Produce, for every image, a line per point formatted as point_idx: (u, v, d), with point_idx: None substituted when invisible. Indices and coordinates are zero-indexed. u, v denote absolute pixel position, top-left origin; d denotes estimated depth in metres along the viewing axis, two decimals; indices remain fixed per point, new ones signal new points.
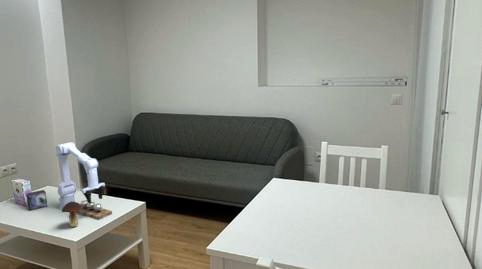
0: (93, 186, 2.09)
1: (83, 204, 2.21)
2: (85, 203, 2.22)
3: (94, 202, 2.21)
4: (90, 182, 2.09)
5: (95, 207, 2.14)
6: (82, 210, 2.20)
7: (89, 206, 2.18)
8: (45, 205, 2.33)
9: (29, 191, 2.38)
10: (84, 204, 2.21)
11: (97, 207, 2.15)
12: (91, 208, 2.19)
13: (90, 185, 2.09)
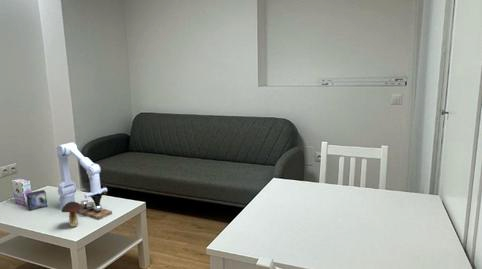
0: (96, 191, 2.12)
1: (83, 204, 2.21)
2: (85, 203, 2.22)
3: None
4: (93, 187, 2.12)
5: (95, 208, 2.15)
6: (82, 210, 2.20)
7: (89, 206, 2.18)
8: (45, 205, 2.33)
9: (29, 191, 2.38)
10: (84, 204, 2.21)
11: (97, 208, 2.15)
12: (91, 208, 2.19)
13: (93, 190, 2.12)
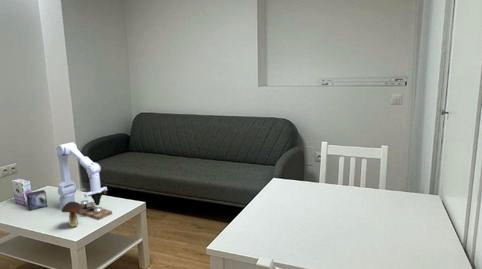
0: (95, 190, 2.12)
1: (83, 204, 2.21)
2: (85, 203, 2.22)
3: (94, 202, 2.21)
4: (92, 186, 2.11)
5: (95, 211, 2.15)
6: (82, 210, 2.20)
7: (89, 206, 2.18)
8: (45, 205, 2.33)
9: (29, 191, 2.38)
10: (84, 204, 2.21)
11: (98, 211, 2.15)
12: (91, 208, 2.19)
13: (92, 189, 2.12)
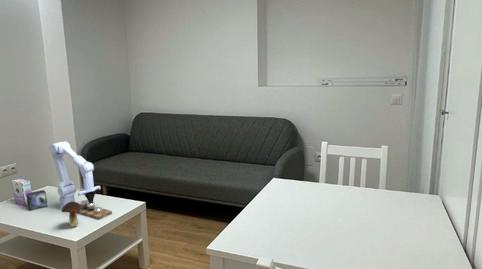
0: (89, 189, 2.15)
1: (83, 204, 2.21)
2: (85, 203, 2.22)
3: (94, 202, 2.21)
4: (86, 185, 2.15)
5: (95, 211, 2.15)
6: (82, 210, 2.20)
7: (89, 206, 2.18)
8: (45, 205, 2.33)
9: (29, 191, 2.38)
10: (84, 204, 2.21)
11: (98, 211, 2.15)
12: (91, 208, 2.20)
13: (86, 188, 2.15)
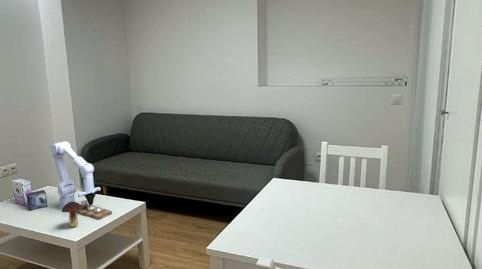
0: (89, 190, 2.16)
1: (83, 204, 2.21)
2: (85, 203, 2.22)
3: (94, 206, 2.21)
4: (86, 186, 2.15)
5: (95, 211, 2.15)
6: (82, 210, 2.20)
7: (89, 209, 2.18)
8: (45, 205, 2.33)
9: (29, 191, 2.38)
10: (84, 204, 2.21)
11: (98, 211, 2.15)
12: None
13: (86, 189, 2.15)
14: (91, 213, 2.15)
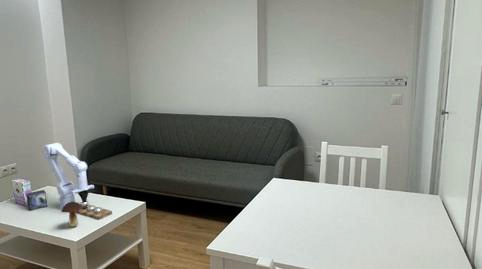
0: (82, 188, 2.19)
1: (83, 205, 2.21)
2: (85, 204, 2.22)
3: (94, 206, 2.21)
4: (79, 184, 2.18)
5: (95, 211, 2.15)
6: (82, 210, 2.20)
7: (89, 209, 2.18)
8: (45, 205, 2.33)
9: (29, 191, 2.38)
10: (84, 205, 2.21)
11: (98, 211, 2.15)
12: None
13: (79, 187, 2.19)
14: (91, 213, 2.15)
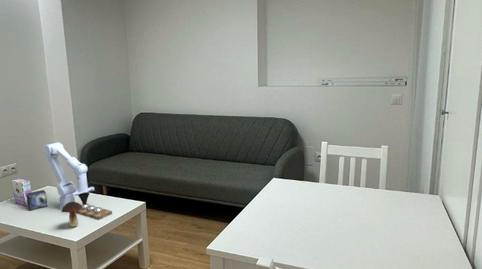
0: (82, 190, 2.19)
1: (83, 208, 2.22)
2: (85, 207, 2.22)
3: (94, 206, 2.21)
4: (80, 186, 2.19)
5: (95, 211, 2.15)
6: (82, 210, 2.20)
7: (89, 209, 2.18)
8: (45, 205, 2.33)
9: (29, 191, 2.38)
10: (84, 208, 2.22)
11: (98, 211, 2.15)
12: None
13: (80, 189, 2.19)
14: (91, 213, 2.15)
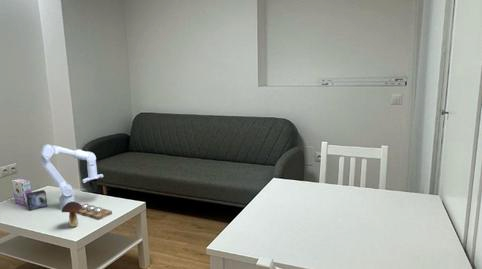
0: (92, 177, 2.31)
1: (83, 208, 2.22)
2: (85, 207, 2.22)
3: (94, 206, 2.21)
4: (90, 173, 2.31)
5: (95, 211, 2.15)
6: (82, 210, 2.20)
7: (89, 209, 2.18)
8: (45, 205, 2.33)
9: (29, 191, 2.38)
10: (84, 208, 2.22)
11: (98, 211, 2.15)
12: None
13: (90, 176, 2.31)
14: (91, 213, 2.15)
